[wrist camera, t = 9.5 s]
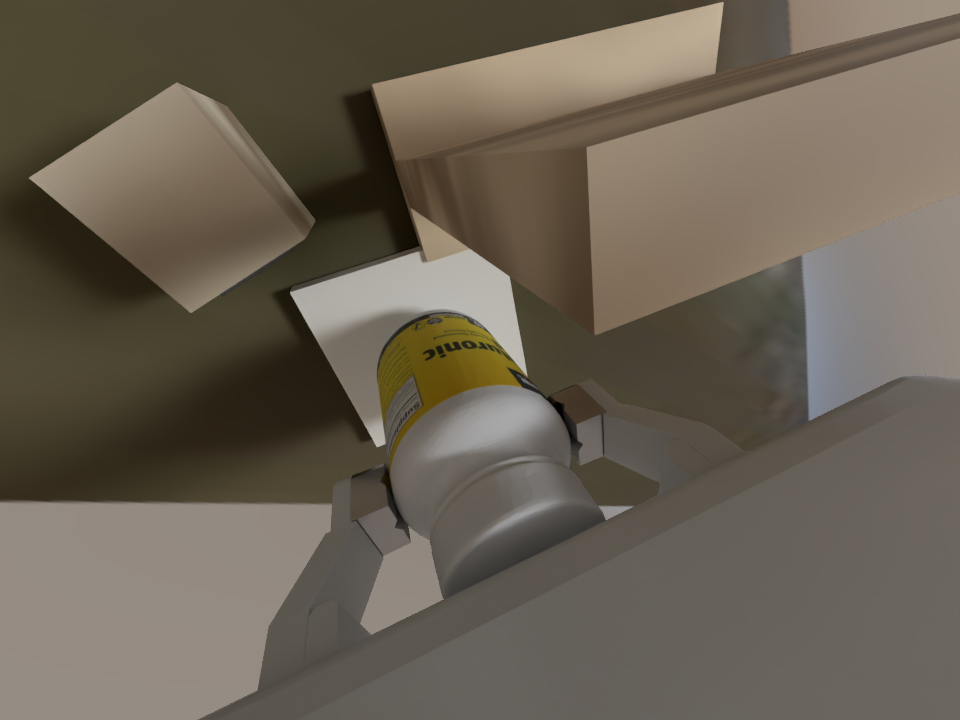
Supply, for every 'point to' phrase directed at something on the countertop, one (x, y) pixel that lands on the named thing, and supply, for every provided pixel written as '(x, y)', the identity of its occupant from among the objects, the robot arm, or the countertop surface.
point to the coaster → (400, 313)
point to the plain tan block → (181, 196)
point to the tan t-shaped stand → (670, 156)
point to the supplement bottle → (474, 450)
